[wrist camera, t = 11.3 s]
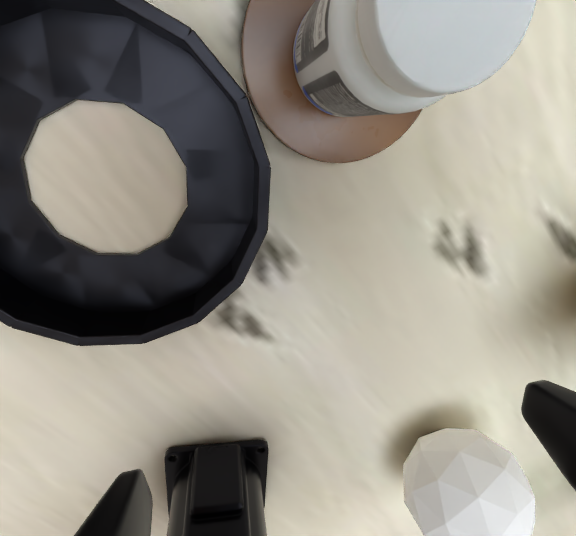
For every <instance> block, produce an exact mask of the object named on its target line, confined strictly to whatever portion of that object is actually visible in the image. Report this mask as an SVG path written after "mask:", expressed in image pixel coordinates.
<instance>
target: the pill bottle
mask: <svg viewBox="0 0 576 536" xmlns="http://www.w3.org/2000/svg"><path fill="white" fill-rule="evenodd" d="M535 4H536V0H316V1H315V2H314V4H313V5H312V6H311V7H310V9H309V10H308V12H307V13H306V15H305V16H304V18H303V20H302V21H301V24H300V26H299V28H298V30H297V34H296V37H295V41H294V47H293V64H294V70H295V75H296V78H297V81H298V84H299V86H300V88H301V90H302V92H303V94H304V95H305V97H306V98H307V99H308V100H309V101H310V102H311V103H312V104H313V105H314V106H315V107H316V108H318V109H319V110H321V111H323V112H325V113H327V114H330V115H333V116H339V117H355V116H370V115H384V114H389V115H391V114H402V113H408V112H413V111H417V110H420V109H423V108H425V107H428V106H430V105H432V104H434V103H436V102H437V101H439V100H440V99H442V98H443V97H444V96H446V95H447V94H452V93H457V92H460V91H464V90H467V89H469V88H472V87H474V86H476V85H478V84H480V83H481V82H483V81H485V80H486V79H488V78H489V77H490V76H492V75H493V74H494V73H495V72H497V71H498V70H499V69H500V68H501V67H502V66H503V65H504V64H505V63H506V61H507V60H508V59H509V58H510V57H511V55H512V54H513V52H514V51H515V50H516V48H517V47H518V45H519V44H520V42H521V40H522V39H523V37H524V35H525V33H526V30H527V28H528V26H529V23H530V21H531V18H532V16H533V12H534V8H535Z"/></svg>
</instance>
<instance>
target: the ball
mask: <svg viewBox="0 0 576 536" xmlns="http://www.w3.org/2000/svg"><path fill="white" fill-rule="evenodd" d="M403 477H404V502H405V504H406V506H407V507H408V509H409V511H410V512H411V514H412V516H413V518H414V519H415V521H416V523H417V524H418V526H419V528H420V529H421V531H422V533H423V535H424V536H532V533H533V529H534V524H535V496H534V493H533V491H532V488H531V486H530V483H529V481H528V479H527V477H526V476H525V474H524V472H523V470H522V469H521V467H520V465H519V464H518V462H517V460H516V458H515V457H514V455H513V453H511V452H510V451H508V450H507V449H505V448H504V447H502V446H501V445H499V444H498V443H496V442H495V441H493V440H491V439H490V438H488V437H487V436H485V435H484V434H482V433H481V432H479V431H478V430H475V429H454V428H445V429H442V430H439V431H436V432H433V433H431V434H428V435H425V436H422V437H419V439H418V440H417V442H416V444H415V446H414V447H413V449H412V451H411V452H410V454H409V456H408V458H407V459H406V461H405V463H404V464H403Z"/></svg>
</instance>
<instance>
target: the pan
mask: <svg viewBox="0 0 576 536" xmlns="http://www.w3.org/2000/svg"><path fill="white" fill-rule="evenodd" d="M76 100H89V101H101V102H113V103H124V104H125V105H127V106H128V107H130V108H131V109H133V110H135V111H136V112H138V113H139V114H141V115H142V116H144V117H145V118H147V119H149V120H150V121H152V122H153V123H155V124H156V125H158V126H160V127H161V128H163V129H164V131H165V132H166V134H167V136H168V137H169V139H170V141H171V142H172V144H173V146H174V147H175V149H176V151H177V153H178V154H179V156H180V158H181V159H182V161H183V163H184V164H185V166H186V174H187V205H188V206H187V208H186V210H185V212H184V213H183V215H182V217H181V218H180V220H179V222H178V224H177V225H176V227H175V229H174V231H173V232H172V234H171V236H170V237H168V238H166V239H165V240H163V241H161V242H159V243H157V244H155V245H153V246H151V247H149V248H147V249H146V250H144V251H142V252H140V253H138V254H117V253H96V252H94V251H92V250H90V249H88V248H86V247H84V246H82V245H80V244H78V243H76V242H73V241H71V240H69V239H67V238H65V237H63V236H61V235H59V234H58V232H57V231H56V230H55V229H54V228H53V226H52V225H51V224H50V223H49V222H48V220H47V219H46V218H45V217H44V215H43V214H42V213H41V212H40V211H39V209H38V208H37V207H36V206H35V204H34V203H33V202H32V201H31V197H30V192H29V187H28V181H27V176H26V171H25V166H24V161H23V157H24V155H25V152H26V150H27V148H28V146H29V143H30V141H31V139H32V137H33V134H34V132H35V130H36V128H37V125H38V123H39V121H40V120H41V119H43V118H45V117H47V116H49V115H50V114H52V113H54V112H56V111H58V110H60V109H61V108H63V107H65V106H67V105H69V104H71V103H72V102H74V101H76ZM233 105H234V106H233ZM270 174H271V167H270V162H269V159H268V156H267V154H266V151H265V148H264V145H263V142H262V139H261V136H260V133H259V130H258V127H257V124H256V121H255V118H254V115H253V112H252V109H251V106H250V103H249V100H248V98H247V96H246V94H245V93H244V91H243V90H242V89H241V88H240V87H239V85H238V84H237V83H236V82H235V80H234V79H233V78H232V77H231V75H230V74H229V73H228V72H227V71H226V69H225V68H224V67H223V66H222V64H221V63H220V62H219V61H218V60H217V58H216V57H215V56H214V55H213V53H212V52H211V51H210V50H209V49H208V47H207V46H206V45H205V44H204V42H203V41H202V40H201V39H200V38H199V36H198V35H197V34H196V33H195V31H194V30H192V29H191V28H190V27H189V26H187V25H185V24H183V23H182V22H180V21H178V20H177V19H175V18H173V17H171V16H170V15H168V14H166V13H165V12H163V11H161V10H160V9H158V8H156V7H154V6H153V5H151V4H149V3H148V2H146V1H144V0H0V321H1V322H3V323H4V324H6V325H7V326H9V327H10V326H11V327H12V328H14V329H18V330H22V331H25V332H29V333H33V334H36V335H40V336H44V337H47V338H51V339H55V340H59V341H62V342H66V343H70V344H73V345H77V346H78V345H80V346H93V345H121V344H142V343H147V342H149V341H152V340H155V339H157V338H160V337H163V336H165V335H168V334H170V333H173V332H176V331H178V330H181V329H184V328H186V327H189V326H191V325H194V324H197V323H198V322H200V321H201V320H202V319H204V318H205V317H206V316H207V315H208V314H209V313H210V312H211V311H213V310H214V309H215V308H216V307H217V306H218V305H219V304H220V303H222V302H223V301H224V300H225V299H226V298H227V297H228V296H229V295H230V294H232V293H233V292H234V291H235V290H236V289H237V288H238V287H239V286H241V284H242V283H243V281H244V279H245V277H246V275H247V273H248V271H249V269H250V267H251V265H252V262H253V260H254V258H255V256H256V254H257V252H258V250H259V248H260V246H261V244H262V242H263V240H264V238H265V235H266V233H267V230H268V213H269V194H270Z"/></svg>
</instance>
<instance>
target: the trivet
mask: <svg viewBox="0 0 576 536" xmlns="http://www.w3.org/2000/svg"><path fill="white" fill-rule="evenodd" d="M315 1H316V0H250V1H249V4H248V7H247V10H246V15H245V20H244V25H243V30H242V42H241V54H242V67H243V73H244V79H245V82H246V86H247V90H248V93H249V95H250V98H251V100H252V103H253V105H254V107H255V109H256V111H257V113H258V114H259V116H260V118H261V119H262V121H263V122H264V124H265V125H266V126H267V128H268V129H269V130H270V131H271V132H272V133H273V134H274V135H275V136H276V138H277V139H279V140H280V141H281V142H282V143H284V144H285V145H286V146H287V147H289V148H291V149H292V150H294V151H295V152H297V153H299V154H301V155H304V156H306V157H308V158H311V159H315V160H318V161H322V162H330V163H346V162H353V161H358V160H361V159H365V158H368V157H370V156H372V155H375V154H377V153H379V152H381V151H382V150H384V149H385V148H387V147H389V146H390V145H391V144H393V143H394V142H395V141H396V140H398V139H399V138H400V137H401V136H402V135H403V134H404V133H405V132H406V131H407V130H408V129H409V127H410V126H411V125H412V124H413V122H414V121H415V120H416V119H417V117H418V115H419V114H420V112H421V111H422V109H420V110H417V111H413V112H408V113H402V114H391V115H389V114H384V115H370V116H355V117H339V116H333V115H330V114H327V113H325V112H323V111H321V110H319V109H318V108H316V107H315V106H314V105H313V104H312V103H311V102H310V101H309V100H308V99H307V98H306V97H305V95H304V94H303V92H302V90H301V88H300V86H299V84H298V81H297V78H296V75H295V70H294V64H293V47H294V41H295V37H296V34H297V30H298V28H299V26H300V24H301V21H302V20H303V18H304V16H305V15H306V13H307V12H308V10H309V9H310V7H311V6H312V5H313V4H314V2H315Z"/></svg>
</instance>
